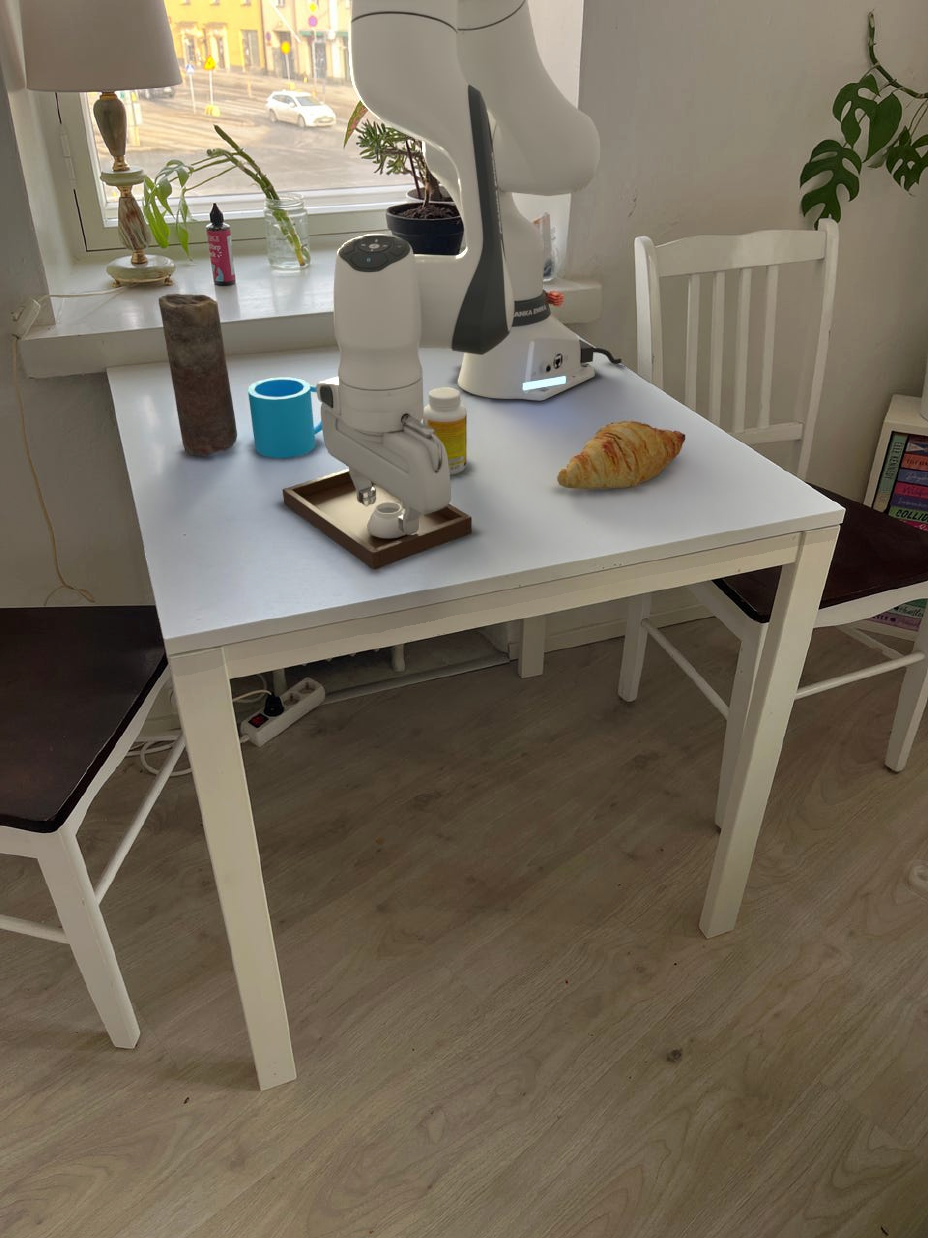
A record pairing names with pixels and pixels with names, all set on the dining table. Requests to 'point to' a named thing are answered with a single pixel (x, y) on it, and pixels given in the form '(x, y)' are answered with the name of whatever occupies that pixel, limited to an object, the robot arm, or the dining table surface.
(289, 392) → the mug
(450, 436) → the supplement bottle
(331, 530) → the serving tray
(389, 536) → the lidless jar
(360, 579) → the dining table surface
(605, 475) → the croissant
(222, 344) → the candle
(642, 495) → the dining table surface
